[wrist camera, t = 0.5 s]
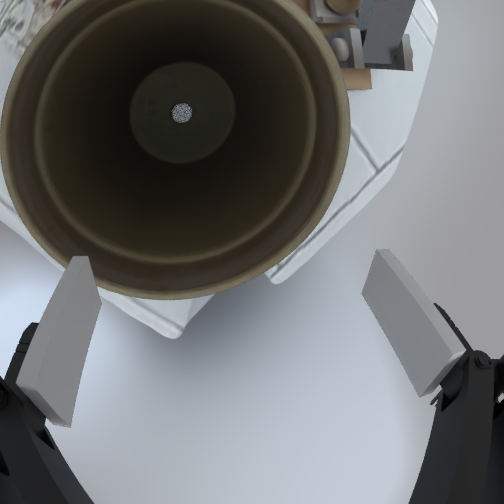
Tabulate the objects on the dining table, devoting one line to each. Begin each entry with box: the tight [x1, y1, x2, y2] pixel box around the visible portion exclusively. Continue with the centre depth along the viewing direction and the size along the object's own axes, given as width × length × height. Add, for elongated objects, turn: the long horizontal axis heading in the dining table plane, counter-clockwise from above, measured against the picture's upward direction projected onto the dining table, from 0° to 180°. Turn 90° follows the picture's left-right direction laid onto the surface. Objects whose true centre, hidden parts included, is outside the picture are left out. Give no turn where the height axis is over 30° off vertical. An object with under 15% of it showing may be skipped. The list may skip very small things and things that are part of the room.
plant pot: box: [0, 0, 351, 300], centre depth 26 cm, size 25×25×22 cm
